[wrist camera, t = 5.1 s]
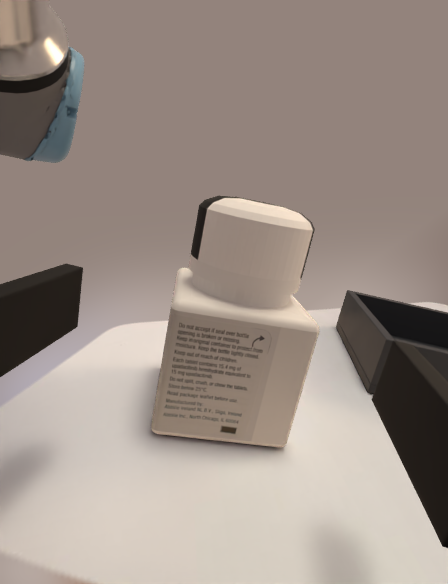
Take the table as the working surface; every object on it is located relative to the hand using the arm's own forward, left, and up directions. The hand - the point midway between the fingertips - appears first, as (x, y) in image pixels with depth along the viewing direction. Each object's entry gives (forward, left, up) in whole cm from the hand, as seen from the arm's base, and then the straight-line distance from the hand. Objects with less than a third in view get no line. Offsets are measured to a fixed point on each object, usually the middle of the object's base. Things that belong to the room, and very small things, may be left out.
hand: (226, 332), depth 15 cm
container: (-4, +5, -8) cm, 10 cm away
